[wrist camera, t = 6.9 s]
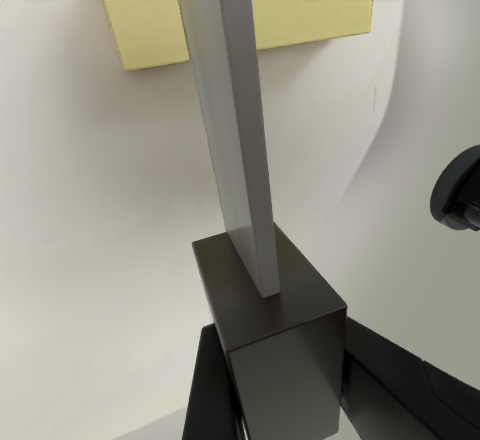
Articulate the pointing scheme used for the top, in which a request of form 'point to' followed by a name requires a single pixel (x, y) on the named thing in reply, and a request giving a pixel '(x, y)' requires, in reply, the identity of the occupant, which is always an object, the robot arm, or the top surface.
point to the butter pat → (147, 32)
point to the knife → (259, 249)
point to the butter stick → (308, 20)
